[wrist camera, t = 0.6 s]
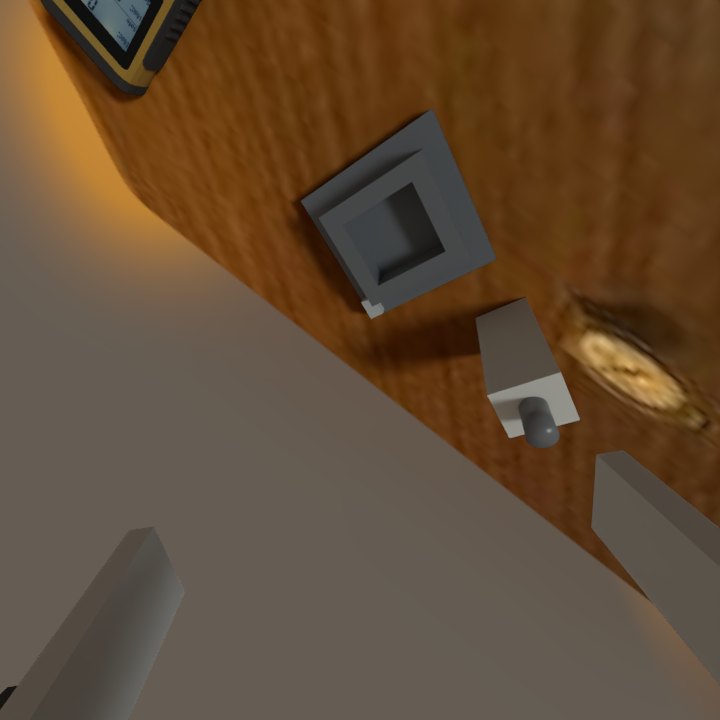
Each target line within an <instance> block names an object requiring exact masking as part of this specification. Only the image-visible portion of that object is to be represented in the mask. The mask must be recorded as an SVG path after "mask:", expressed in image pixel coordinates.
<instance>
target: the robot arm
mask: <svg viewBox="0 0 720 720" xmlns="http://www.w3.org/2000/svg"><path fill="white" fill-rule="evenodd" d="M592 529H593V530H594V531H595V533H596V534H597V535H598V536H599V538H600V539H601V540H602V541H603V542H604V544H605V545H606V546H607V547H608V549H609V550H610V551H611V552H612V554H613V555H614V556H615V557H616V558H617V560H618V561H619V562H620V563H621V565H622V566H623V567H624V568H625V570H626V571H627V572H628V573H629V574H630V576H631V577H632V578H633V579H634V581H635V582H636V583H637V584H638V586H639V587H640V588H641V589H642V590H643V592H644V593H645V594H646V595H647V597H648V598H649V599H650V600H651V602H652V603H653V604H654V605H655V606H656V608H657V609H658V610H659V611H660V613H661V614H662V615H663V616H664V618H665V619H666V620H667V621H668V622H669V624H670V625H671V626H672V627H673V629H674V630H675V631H676V632H677V634H678V635H679V636H680V637H681V638H682V640H683V641H684V642H685V643H686V645H687V646H688V647H689V648H690V649H691V651H692V652H693V653H694V654H695V656H696V657H697V658H698V659H699V661H700V662H701V663H702V664H703V666H704V667H705V668H706V669H707V670H708V672H709V673H710V674H711V675H712V677H713V678H714V679H715V680H716V682H717V683H718V684H719V685H720V528H719V527H718V526H716V525H715V524H714V523H713V522H711V521H710V520H709V519H708V518H706V517H705V516H704V515H703V514H701V513H700V512H699V511H698V510H697V509H695V508H694V507H693V506H692V505H690V504H689V503H688V502H687V501H685V500H684V499H683V498H682V497H680V496H679V495H678V494H677V493H676V492H674V491H673V490H672V489H671V488H669V487H668V486H667V485H666V484H664V483H663V482H662V481H661V480H659V479H658V478H657V477H656V476H655V475H653V474H652V473H651V472H650V471H648V470H647V469H646V468H645V467H643V466H642V465H641V464H640V463H638V462H637V461H636V460H635V459H634V458H632V457H631V456H630V455H629V454H627V453H626V452H625V451H624V450H622V451H616V452H609V453H603V454H597V455H596V470H595V485H594V499H593V514H592ZM184 593H185V591H184V588H183V586H182V584H181V582H180V580H179V578H178V576H177V574H176V572H175V570H174V568H173V565H172V564H171V561H170V559H169V557H168V555H167V553H166V551H165V549H164V547H163V545H162V542H161V540H160V538H159V536H158V534H157V532H156V530H155V528H154V527H148V528H142V529H136V530H130V531H128V533H127V534H126V535H125V537H124V538H123V540H122V541H121V542H120V544H119V545H118V547H117V548H116V549H115V551H114V552H113V554H112V555H111V556H110V558H109V559H108V561H107V562H106V563H105V565H104V566H103V567H102V569H101V570H100V572H99V573H98V575H97V576H96V577H95V579H94V580H93V581H92V583H91V584H90V586H89V587H88V589H87V590H86V591H85V593H84V594H83V596H82V597H81V598H80V600H79V601H78V603H77V604H76V605H75V607H74V608H73V609H72V611H71V612H70V614H69V615H68V616H67V618H66V619H65V621H64V622H63V623H62V625H61V626H60V627H59V629H58V630H57V632H56V633H55V634H54V636H53V637H52V639H51V640H50V642H49V643H48V644H47V646H46V647H45V648H44V650H43V651H42V653H41V654H40V655H39V657H38V658H37V659H36V661H35V662H34V664H33V665H32V666H31V668H30V669H29V671H28V672H27V673H26V675H25V676H24V678H23V679H22V681H21V682H20V683H19V685H18V686H13V687H7V688H6V689H5V690H4V691H3V692H2V693H1V694H0V720H128V719H129V717H130V714H131V712H132V710H133V708H134V705H135V703H136V701H137V699H138V696H139V694H140V692H141V690H142V687H143V685H144V683H145V681H146V678H147V676H148V674H149V672H150V669H151V667H152V665H153V663H154V660H155V658H156V656H157V654H158V651H159V649H160V647H161V645H162V642H163V640H164V637H165V636H166V633H167V631H168V629H169V627H170V624H171V622H172V620H173V618H174V615H175V613H176V611H177V608H178V606H179V604H180V602H181V600H182V597H183V595H184Z"/></svg>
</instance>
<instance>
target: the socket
mask: <svg viewBox="0 0 720 720" xmlns="http://www.w3.org/2000/svg"><path fill="white" fill-rule="evenodd" d="M301 202H302V204H303V206H304V207H305V209H306V210H307V212H308V214H309V215H310V217H311V219H312V220H313V222H314V223H315V225H316V227H317V228H318V230H319V232H320V233H321V235H322V236H323V238H324V240H325V241H326V243H327V245H328V246H329V248H330V249H331V251H332V253H333V254H334V256H335V258H336V259H337V261H338V262H339V264H340V266H341V267H342V269H343V271H344V272H345V274H346V275H347V277H348V279H349V280H350V282H351V284H352V285H353V287H354V288H355V290H356V292H357V293H358V295H359V297H360V298H361V300H362V301H361V303H362V305H363V307H364V308H365V310H366V311H367V313H368V315H369V316H370V318H371V319H372V318H374V317H376V316H378V315H380V314H383V313H384V312H386V311H388V310H390V309H392V308H394V307H397V306H399V305H401V304H403V303H405V302H407V301H409V300H411V299H413V298H416V297H418V296H420V295H422V294H424V293H426V292H428V291H430V290H433V289H435V288H437V287H439V286H441V285H443V284H445V283H447V282H449V281H452V280H454V279H456V278H458V277H460V276H462V275H464V274H466V273H469V272H471V271H473V270H475V269H477V268H479V267H481V266H483V265H485V264H488V263H490V262H492V261H494V260H496V259H497V258H496V256H495V253H494V251H493V249H492V246H491V244H490V242H489V239H488V237H487V235H486V232H485V230H484V228H483V225H482V223H481V221H480V218H479V216H478V214H477V211H476V209H475V207H474V204H473V202H472V200H471V197H470V195H469V192H468V190H467V188H466V185H465V183H464V181H463V178H462V176H461V174H460V171H459V169H458V167H457V164H456V162H455V160H454V157H453V155H452V153H451V150H450V148H449V146H448V143H447V141H446V139H445V136H444V134H443V132H442V129H441V127H440V125H439V122H438V120H437V118H436V115H435V113H434V111H433V109H431V110H429V111H428V112H426V113H425V114H424V115H422V116H421V117H419V118H418V119H417V120H415V121H414V122H412V123H411V124H409V125H408V126H407V127H405V128H404V129H402V130H401V131H399V132H398V133H397V134H395V135H394V136H392V137H391V138H390V139H388V140H387V141H385V142H384V143H382V144H381V145H380V146H378V147H377V148H375V149H374V150H373V151H371V152H370V153H368V154H367V155H365V156H364V157H363V158H361V159H360V160H358V161H357V162H355V163H354V164H353V165H351V166H350V167H348V168H347V169H346V170H344V171H343V172H341V173H340V174H338V175H337V176H336V177H334V178H333V179H331V180H330V181H328V182H327V183H326V184H324V185H323V186H321V187H320V188H319V189H317V190H316V191H314V192H313V193H311V194H310V195H309V196H307V197H306V198H304V199H303V200H301Z"/></svg>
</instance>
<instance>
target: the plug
mask: <svg viewBox="0 0 720 720" xmlns="http://www.w3.org/2000/svg"><path fill="white" fill-rule="evenodd" d="M476 325H477V331H478V338H479V345H480V351H481V358H482V364H483V371H484V377H485V384H486V391H487V396H488V398H489V400H490V402H491V404H492V405H493V407H494V409H495V411H496V413H497V415H498V417H499V419H500V421H501V423H502V425H503V426H504V428H505V430H506V432H507V434H508V436H509V438H512V437H516V436H519V435H523V434H525V437H526V441H527V442H528V443H529V444H530V445H532V446H534V447H537V448H546V447H550V446H552V445H554V444H555V443H556V442H557V441H558V439H559V432H558V430H557V427H556V426H558V425H562V424H566V423H570V422H574V421H578V420H580V419H579V416H578V414H577V411H576V409H575V406H574V404H573V401H572V399H571V396H570V394H569V391H568V389H567V387H566V384H565V382H564V379H563V377H562V374H561V372H560V370H559V368H558V365H557V363H556V361H555V359H554V357H553V355H552V353H551V350H550V348H549V346H548V344H547V342H546V340H545V338H544V335H543V333H542V331H541V329H540V327H539V325H538V323H537V320H536V318H535V316H534V314H533V312H532V310H531V308H530V305H529V303H528V301H527V299H526V297H525V298H522V299H520V300H517V301H515V302H513V303H510V304H508V305H505V306H503V307H501V308H498V309H496V310H493V311H491V312H488V313H486V314H484V315H481V316H479V317H476Z"/></svg>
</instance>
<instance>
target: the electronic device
mask: <svg viewBox="0 0 720 720" xmlns="http://www.w3.org/2000/svg"><path fill="white" fill-rule="evenodd" d="M200 1H201V0H41V2H42V4H43V5H44V7H45V8H46V9H47V10H48V12H49V13H50V14H51V15H52V16H53V17H54V18H55V19H56V21H57V22H58V23H59V24H60V25H61V26H62V27H63V28H64V30H65V31H66V32H67V33H68V34H69V35H70V36H71V37H72V38H73V40H74V41H75V42H76V43H77V44H78V45H79V46H80V47H81V49H82V50H83V51H84V52H85V53H86V54H87V55H88V56H89V57H90V59H91V60H92V61H93V62H94V63H95V64H96V65H97V66H98V68H99V69H100V70H101V71H102V72H103V73H104V74H105V75H106V76H107V78H108V79H109V80H110V81H111V82H112V83H113V84H114V85H115V86H116V87H117V88H118V89H120V90H121V91H123V92H124V93H127V94H134V95H144V94H145V92H146V90H147V89H148V87H149V84H150V83H151V81H152V79H153V77H154V76H155V74H156V72H157V71H159V70H160V69H161V68H162V67H163V65H164V64H165V62H166V60H167V59H168V57H169V55H170V54H171V52H172V50H173V48H174V47H175V45H176V43H177V41H178V40H179V38H180V36H181V34H182V33H183V31H184V29H185V27H186V26H187V24H188V22H189V21H190V19H191V17H192V15H193V14H194V12H195V10H196V8H197V7H198V5H199V3H200Z"/></svg>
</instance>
